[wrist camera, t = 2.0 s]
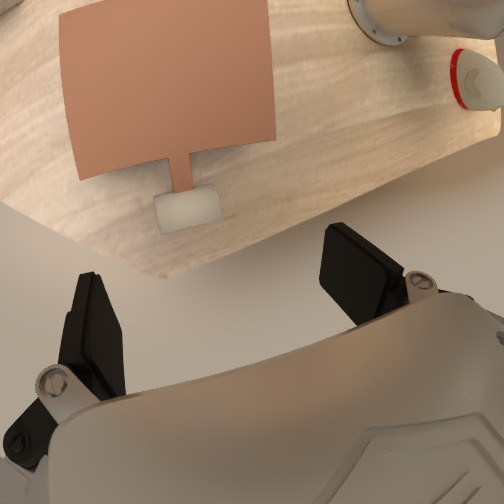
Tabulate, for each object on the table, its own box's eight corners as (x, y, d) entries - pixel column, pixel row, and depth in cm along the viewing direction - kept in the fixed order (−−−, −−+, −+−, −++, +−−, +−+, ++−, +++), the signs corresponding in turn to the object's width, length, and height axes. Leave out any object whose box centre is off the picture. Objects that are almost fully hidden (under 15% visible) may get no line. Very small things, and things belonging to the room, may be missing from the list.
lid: (257, -7, 16) (272, -19, 13) (270, 200, 27) (284, 213, 24) (64, 20, 12) (54, 10, 9) (103, 239, 23) (99, 257, 20)
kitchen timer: (453, 111, 40) (514, 131, 28) (445, 46, 32) (511, 57, 20) (479, 105, 42) (531, 124, 30) (473, 51, 34) (528, 62, 21)
